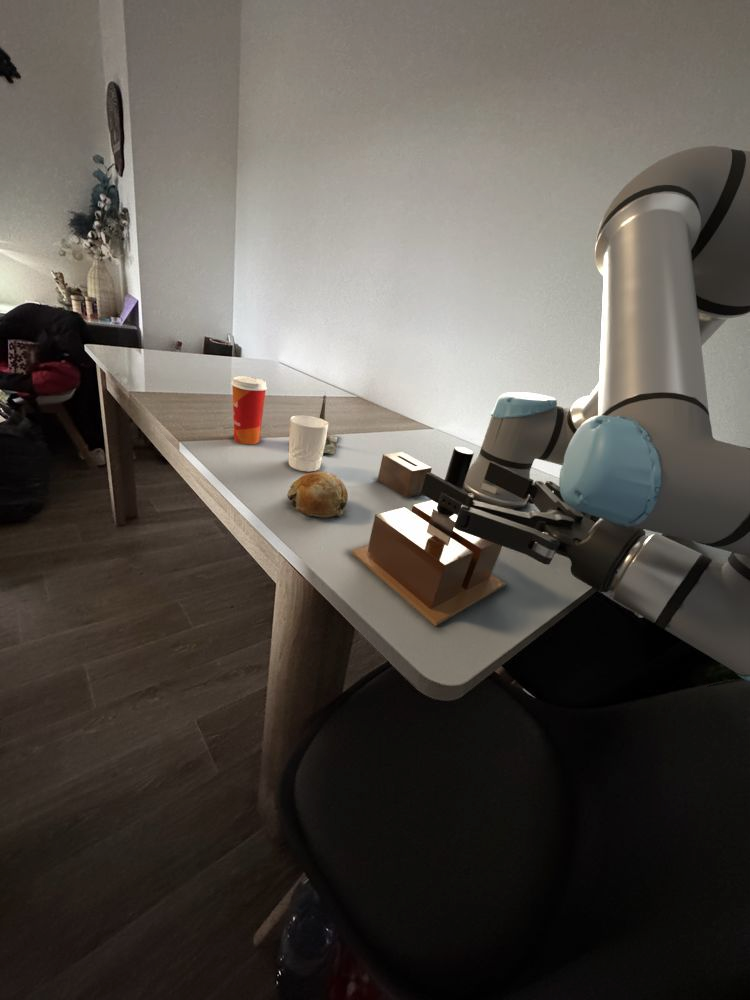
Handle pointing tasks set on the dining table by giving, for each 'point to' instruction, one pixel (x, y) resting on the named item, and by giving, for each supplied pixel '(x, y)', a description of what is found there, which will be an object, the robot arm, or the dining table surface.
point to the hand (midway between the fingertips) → (459, 475)
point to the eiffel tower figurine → (330, 441)
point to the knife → (457, 478)
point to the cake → (430, 562)
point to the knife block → (403, 473)
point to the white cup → (306, 442)
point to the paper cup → (248, 408)
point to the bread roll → (318, 495)
